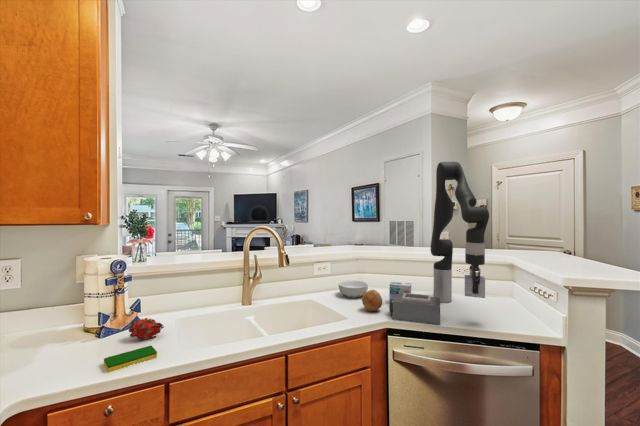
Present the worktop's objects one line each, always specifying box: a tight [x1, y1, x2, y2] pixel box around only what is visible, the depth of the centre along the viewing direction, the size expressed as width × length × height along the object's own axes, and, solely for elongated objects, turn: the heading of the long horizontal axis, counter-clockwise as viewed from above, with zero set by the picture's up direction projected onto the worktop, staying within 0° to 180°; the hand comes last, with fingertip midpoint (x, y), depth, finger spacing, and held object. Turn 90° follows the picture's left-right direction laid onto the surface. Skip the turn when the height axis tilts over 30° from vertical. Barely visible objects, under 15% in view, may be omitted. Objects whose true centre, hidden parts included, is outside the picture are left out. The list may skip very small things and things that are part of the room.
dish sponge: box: [103, 345, 158, 373], centre depth 100 cm, size 7×14×2 cm, turn 134°
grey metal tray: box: [388, 292, 441, 326], centre depth 141 cm, size 14×22×10 cm, turn 70°
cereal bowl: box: [338, 280, 369, 299], centre depth 176 cm, size 17×17×7 cm
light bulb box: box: [388, 280, 412, 304], centre depth 161 cm, size 11×7×11 cm, turn 68°
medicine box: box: [464, 274, 486, 299], centre depth 133 cm, size 8×4×9 cm, turn 65°
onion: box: [361, 289, 383, 312], centre depth 150 cm, size 10×10×10 cm
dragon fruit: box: [128, 317, 165, 342], centre depth 118 cm, size 8×8×12 cm
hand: (474, 291), depth 133 cm, fingers closed on medicine box, 4 cm apart
